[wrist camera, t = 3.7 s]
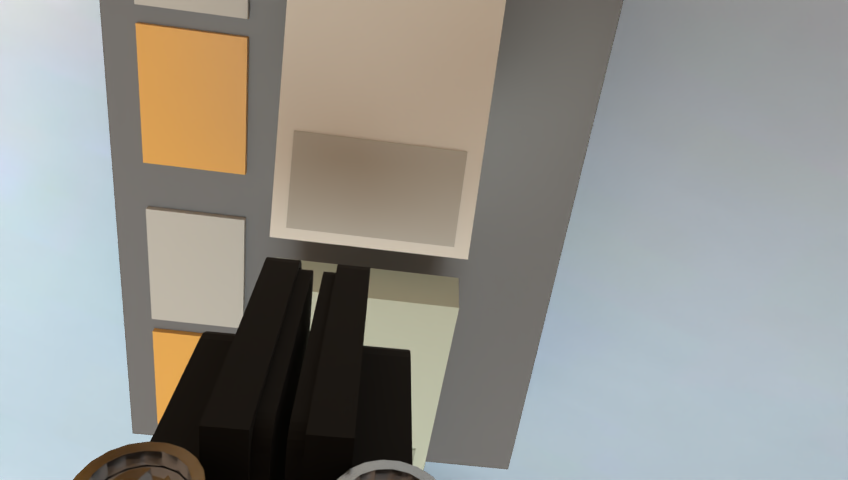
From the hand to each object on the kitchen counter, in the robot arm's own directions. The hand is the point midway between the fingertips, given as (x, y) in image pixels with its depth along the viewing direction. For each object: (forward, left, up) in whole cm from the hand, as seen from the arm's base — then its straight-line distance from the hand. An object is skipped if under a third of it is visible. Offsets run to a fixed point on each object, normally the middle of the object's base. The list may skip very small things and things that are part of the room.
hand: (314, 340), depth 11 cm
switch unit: (0, +2, -14) cm, 14 cm away
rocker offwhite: (-1, -3, -7) cm, 8 cm away
